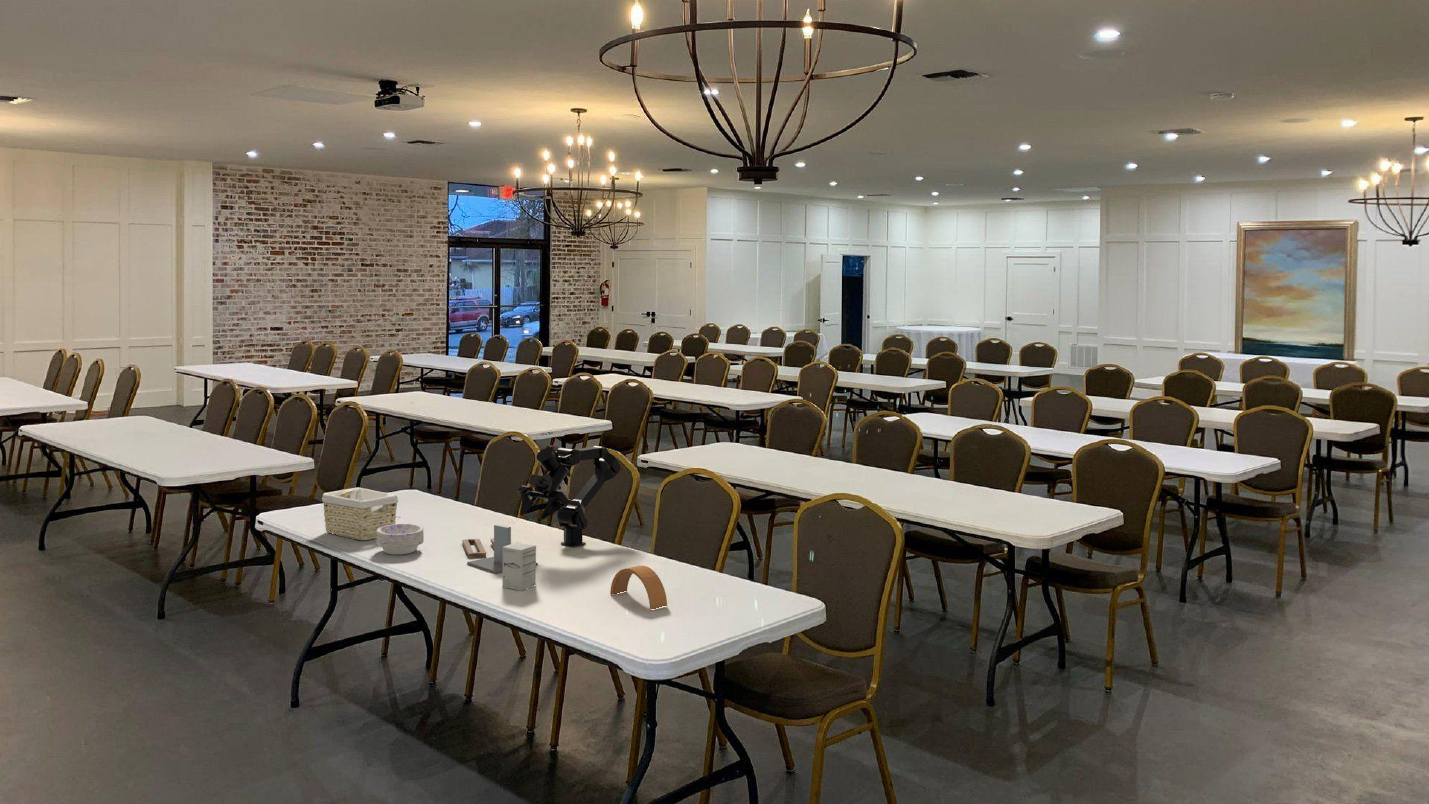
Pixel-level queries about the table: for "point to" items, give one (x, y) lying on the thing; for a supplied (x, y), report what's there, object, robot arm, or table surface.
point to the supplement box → (519, 566)
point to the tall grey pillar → (501, 541)
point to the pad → (488, 565)
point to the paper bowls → (400, 538)
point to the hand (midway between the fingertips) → (530, 517)
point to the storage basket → (358, 512)
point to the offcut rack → (478, 545)
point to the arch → (649, 581)
